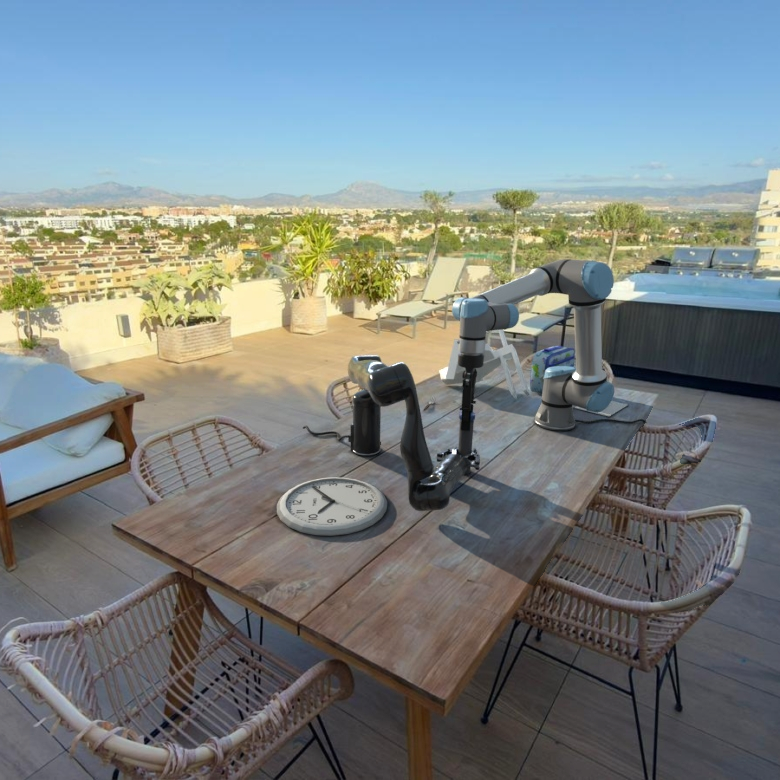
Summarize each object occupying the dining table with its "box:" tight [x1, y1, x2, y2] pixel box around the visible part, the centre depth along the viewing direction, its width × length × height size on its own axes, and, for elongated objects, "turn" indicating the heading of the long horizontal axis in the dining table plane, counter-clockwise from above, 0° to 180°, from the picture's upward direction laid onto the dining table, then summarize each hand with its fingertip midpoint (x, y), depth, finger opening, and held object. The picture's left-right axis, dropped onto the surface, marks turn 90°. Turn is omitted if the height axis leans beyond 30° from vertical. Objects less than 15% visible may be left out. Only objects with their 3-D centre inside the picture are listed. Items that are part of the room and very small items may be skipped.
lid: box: [458, 411, 476, 421], centre depth 159 cm, size 5×5×2 cm
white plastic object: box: [438, 329, 531, 400], centre depth 245 cm, size 37×45×31 cm
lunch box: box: [529, 345, 576, 394], centre depth 244 cm, size 26×11×21 cm, turn 135°
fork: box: [422, 395, 437, 412], centre depth 223 cm, size 3×16×2 cm, turn 160°
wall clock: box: [276, 476, 388, 537], centre depth 142 cm, size 30×2×30 cm
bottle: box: [457, 419, 475, 475], centre depth 161 cm, size 4×4×19 cm
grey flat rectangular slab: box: [573, 400, 629, 418], centre depth 226 cm, size 21×1×15 cm
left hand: (467, 449), depth 165 cm, fingers closed on bottle, 4 cm apart
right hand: (466, 426), depth 160 cm, fingers closed on lid, 5 cm apart
